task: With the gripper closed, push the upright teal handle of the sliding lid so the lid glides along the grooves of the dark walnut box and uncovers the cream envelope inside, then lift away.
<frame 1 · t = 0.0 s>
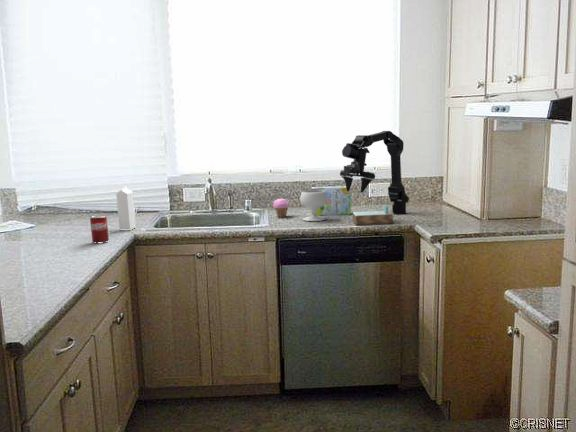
hand: (354, 191, 290), 15 cm above the worktop, tool pointing down, fingers open, 9 cm apart
lid: (371, 210, 291), point 6 cm above the worktop, slide at 0.0 cm
soda can: (100, 242, 270), on the worktop
chalice: (314, 220, 306), on the worktop
milk: (127, 230, 299), on the worktop
cupcake: (281, 217, 319), on the worktop
snack box: (331, 214, 321), on the worktop
walnut box: (372, 222, 292), on the worktop
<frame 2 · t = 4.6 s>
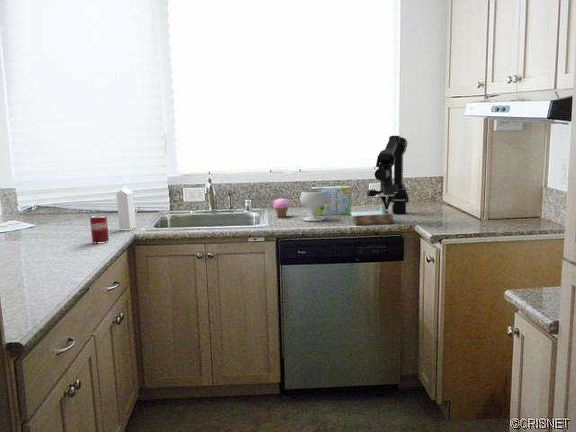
hand: (386, 209, 291), 6 cm above the worktop, tool pointing down, fingers closed
lid: (368, 210, 291), point 6 cm above the worktop, slide at 1.4 cm, touching gripper
everything else where it was.
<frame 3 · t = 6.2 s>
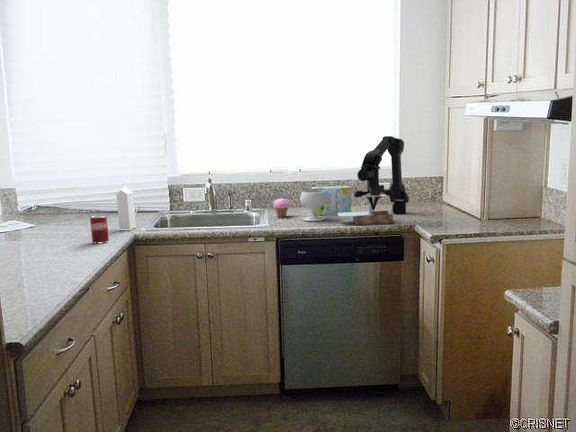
hand: (373, 210, 291), 6 cm above the worktop, tool pointing down, fingers closed
lid: (355, 211, 291), point 6 cm above the worktop, slide at 7.9 cm, touching gripper
everything else where it was.
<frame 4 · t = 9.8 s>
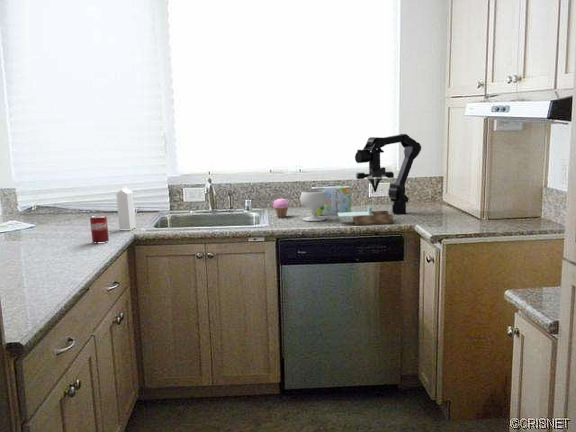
hand: (375, 191, 306), 13 cm above the worktop, tool pointing down, fingers closed
lid: (355, 211, 291), point 6 cm above the worktop, slide at 7.9 cm
everything else where it was.
at the end: lid slide at 7.9 cm; the gripper is holding nothing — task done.
